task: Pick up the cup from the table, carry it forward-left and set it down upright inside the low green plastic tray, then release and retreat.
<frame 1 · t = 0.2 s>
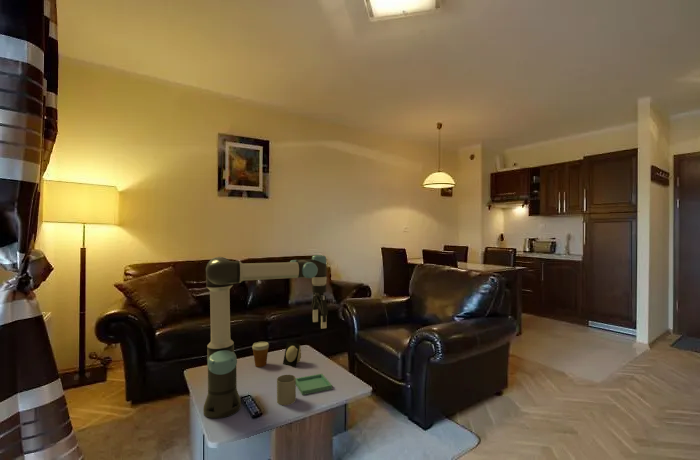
hand: (319, 324, 177), 28 cm above the table, fingers open, 13 cm apart
disposable coffee cup: (260, 365, 194), on the table
cup: (286, 401, 153), on the table
tray: (312, 385, 168), on the table
decorative object: (293, 364, 196), on the table
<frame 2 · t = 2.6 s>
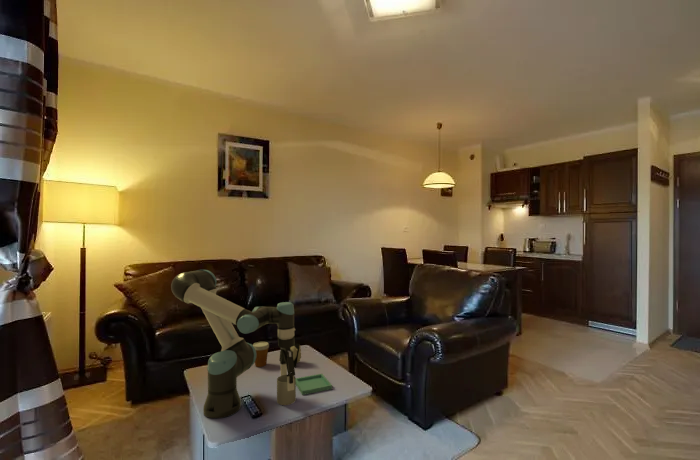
hand: (287, 384, 153), 7 cm above the table, fingers open, 13 cm apart
nothing on the table moved.
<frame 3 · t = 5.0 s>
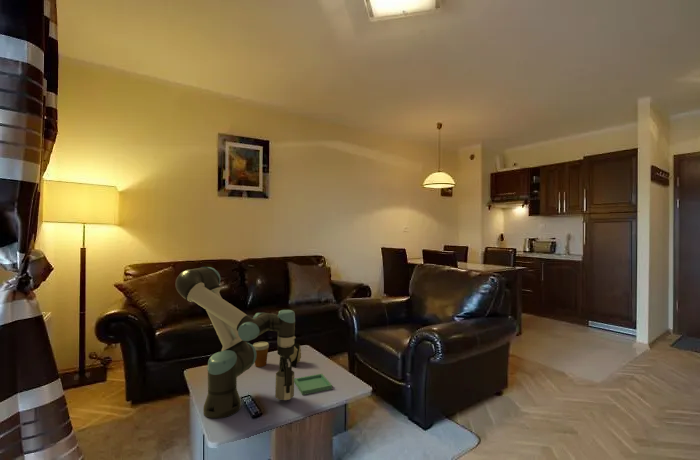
hand: (284, 394, 153), 3 cm above the table, fingers closed on cup, 8 cm apart
cup: (284, 395, 153), point 2 cm above the table, touching gripper
everything else where it was.
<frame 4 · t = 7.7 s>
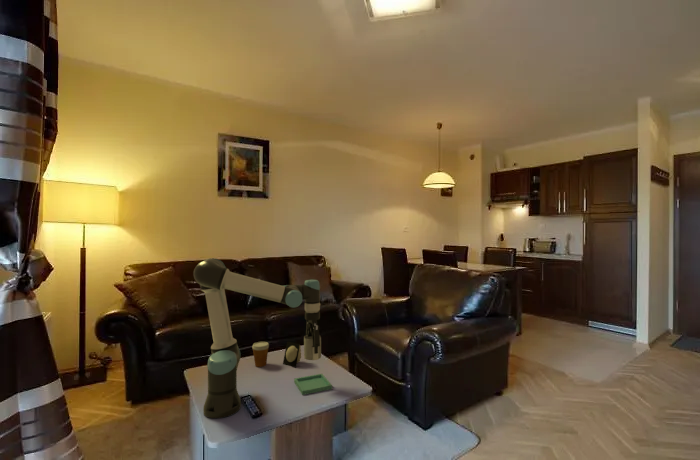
hand: (312, 356, 168), 14 cm above the table, fingers closed on cup, 8 cm apart
cup: (312, 357, 168), point 14 cm above the table, touching gripper
everything else where it was.
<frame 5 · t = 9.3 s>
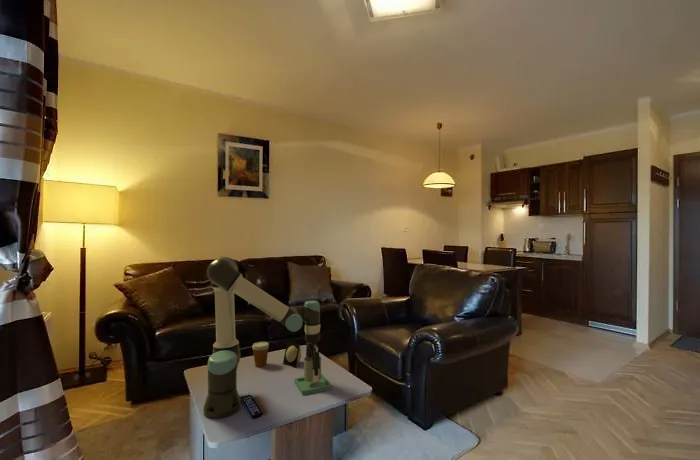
hand: (312, 377, 168), 4 cm above the table, fingers closed on cup, 8 cm apart
cup: (312, 378, 168), point 3 cm above the table, touching gripper
everything else where it was.
when the fingers open (2 cm above the table, at t = 10.6 s): cup drops 1 cm, resting on tray.
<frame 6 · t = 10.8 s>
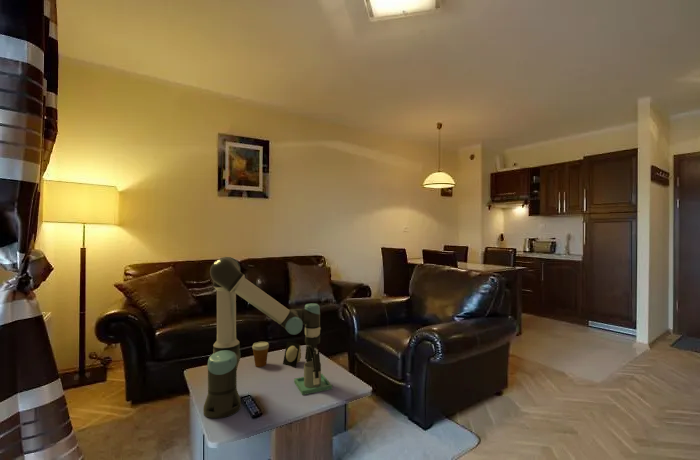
hand: (312, 379, 168), 3 cm above the table, fingers open, 11 cm apart
cup: (312, 384, 168), resting on tray
everything else where it was.
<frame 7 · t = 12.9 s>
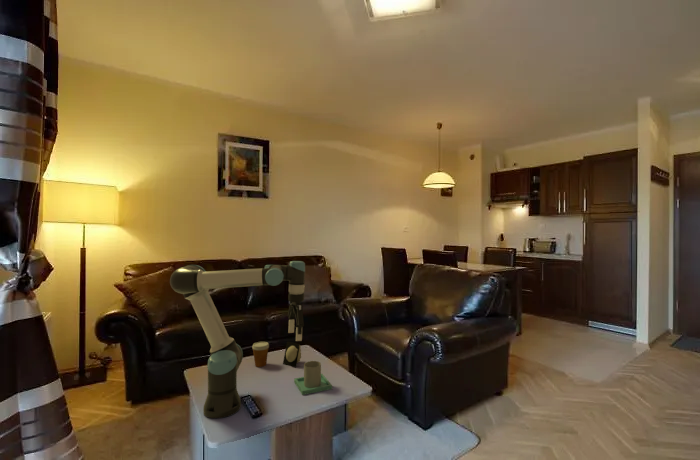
hand: (294, 336, 164), 26 cm above the table, fingers open, 13 cm apart
nothing on the table moved.
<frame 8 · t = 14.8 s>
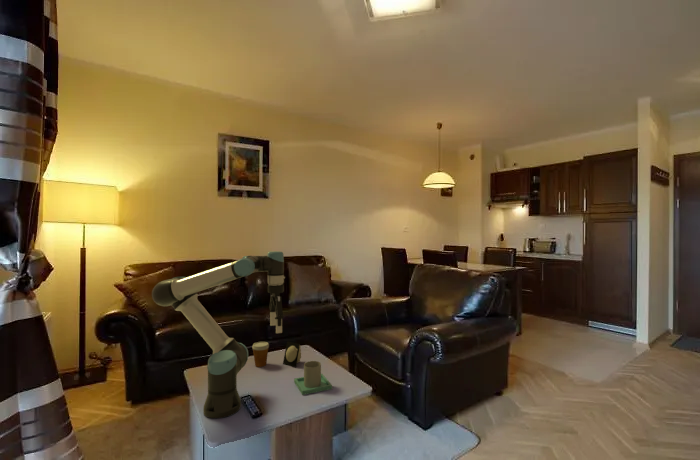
hand: (275, 329, 159), 31 cm above the table, fingers open, 13 cm apart
nothing on the table moved.
at the end: cup inside the target area on the tray (0.1 cm from its centre), point 0.4 cm above the tray's base; cup tilted 0°; the gripper is holding nothing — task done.
